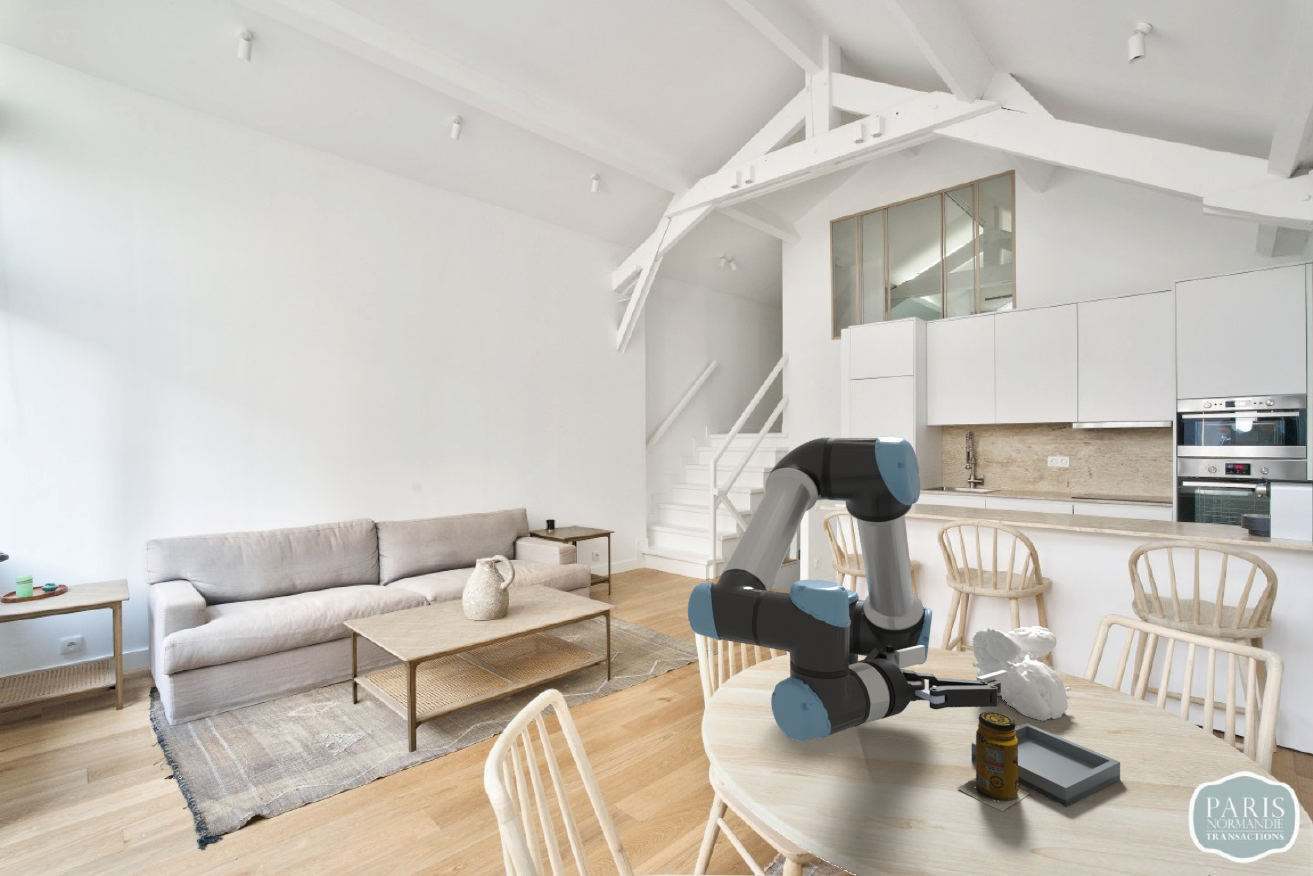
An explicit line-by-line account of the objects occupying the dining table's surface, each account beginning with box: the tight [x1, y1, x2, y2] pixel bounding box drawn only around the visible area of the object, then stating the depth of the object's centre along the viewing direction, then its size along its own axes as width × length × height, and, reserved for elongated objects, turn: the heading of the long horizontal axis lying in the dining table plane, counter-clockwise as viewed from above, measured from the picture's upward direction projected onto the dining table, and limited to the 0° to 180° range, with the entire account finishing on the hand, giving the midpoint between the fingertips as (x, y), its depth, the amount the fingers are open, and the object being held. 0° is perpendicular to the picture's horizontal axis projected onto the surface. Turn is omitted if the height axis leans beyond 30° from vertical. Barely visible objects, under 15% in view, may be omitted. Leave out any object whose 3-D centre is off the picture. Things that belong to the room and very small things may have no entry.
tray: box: [971, 722, 1121, 808], centre depth 106 cm, size 16×16×3 cm
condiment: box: [957, 711, 1030, 812], centre depth 99 cm, size 7×8×12 cm
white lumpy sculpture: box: [972, 625, 1072, 722], centre depth 133 cm, size 19×20×20 cm
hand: (961, 666), depth 95 cm, fingers open, 13 cm apart
